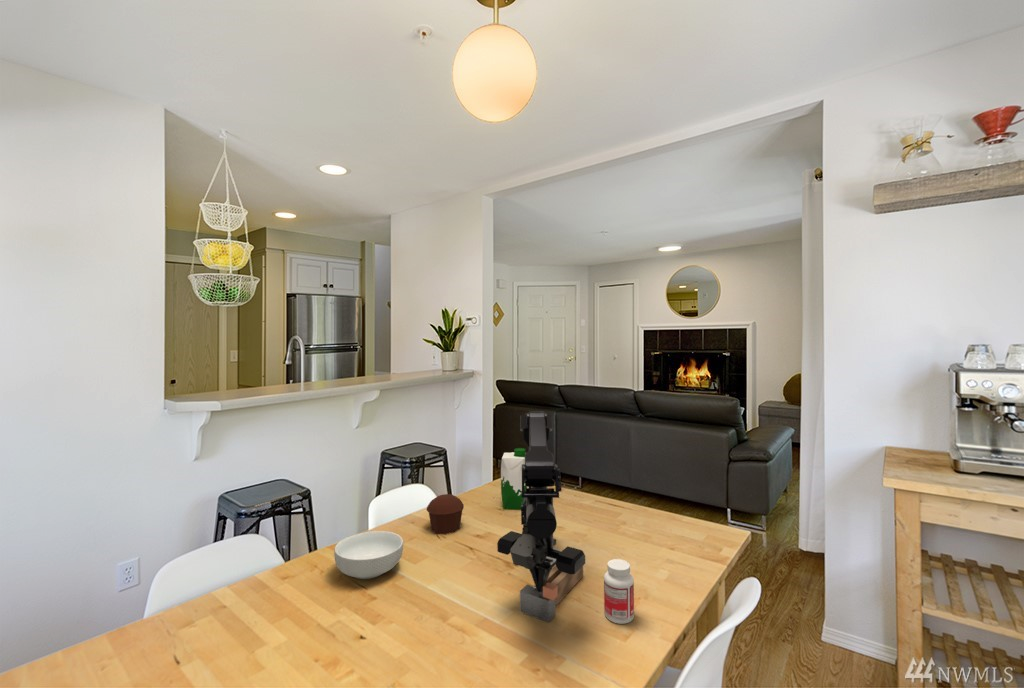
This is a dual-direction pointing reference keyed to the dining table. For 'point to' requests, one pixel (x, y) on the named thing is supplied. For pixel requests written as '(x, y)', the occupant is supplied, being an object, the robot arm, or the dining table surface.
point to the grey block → (536, 604)
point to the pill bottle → (619, 592)
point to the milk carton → (512, 479)
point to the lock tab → (550, 591)
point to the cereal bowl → (368, 554)
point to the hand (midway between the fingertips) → (540, 591)
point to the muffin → (445, 514)
